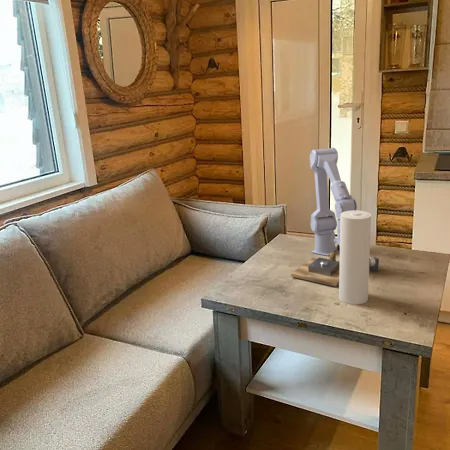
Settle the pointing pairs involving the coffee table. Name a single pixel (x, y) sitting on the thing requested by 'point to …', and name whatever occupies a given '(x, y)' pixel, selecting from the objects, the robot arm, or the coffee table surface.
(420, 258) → the coffee table surface
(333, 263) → the cover
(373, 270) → the dial indicator
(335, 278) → the wooden base with peg
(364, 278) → the cylinder container
